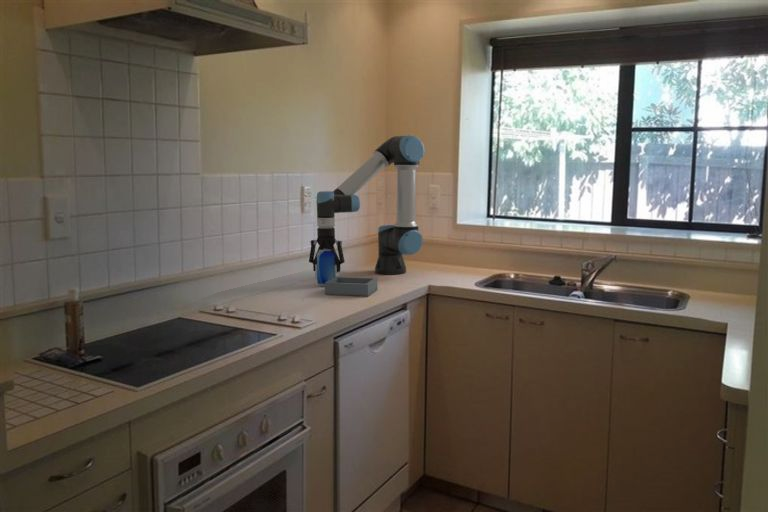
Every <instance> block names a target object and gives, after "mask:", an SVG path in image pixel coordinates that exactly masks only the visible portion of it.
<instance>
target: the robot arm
mask: <svg viewBox="0 0 768 512" xmlns="http://www.w3.org/2000/svg"><path fill="white" fill-rule="evenodd" d="M424 154H425V145H424V143H423V142H422V140H421V138H419V137H417V136H415V135H398V136H397V135H395V136H392V137H390V138H389V139H387V140H385V142H382V144H381V145H380V146H378V147H377V148H376V149H375V150H374V151H373V152H372V156H371V157H369V158H368V159H367V160H366V161H365V162H364V163H363V164H361V165H360V166H359V167H358V168H357V169H356V170H355V171H354V172H353V173H352V174H351V175H350V176H349V177H347V178H346V179H345V180H344V181H343V182H342V183H341V184H340V185H338V187H336V188H335V189H334V190H333V191H331V190H327V191H323V190H322V191H318V192H317V193H316V201H315V203H316V222H317V224H316V225H317V229H316V230H317V233H316V235H317V238H316V239H312V240H310V253H309V257H308V258H309V259H308V262H309V263H311V264H312V266H313V267H312V269H313V272H315V280H317V253H318V251H319V250H322V249H325V248H326V249H329V250H332V252H333V253H334V259H335V262H336V265H335V277H340V276H339V275H340V274H339V273H340V272H341V264H344V263H345V257H344V253H343V247H342V245H343V240H338V239H336V238H335V237H336V232H335V231H336V230H335V229H336V228H335V222H336V221H335V214H338V213H339V214H341V213H356V212H358V211H359V210H360V207H361V200H360V197H359V196H358V195H356V194H357V192H358V191H360V190H361V189H362V188H363V187H364V186H365V185H366V184H367V183H368V182H369V181H371V180H372V179H373V178H374V177H375V176H376V175H377V174H378V173H380V172H381V170H383V169H384V168H385V169H386V168H388V167H389V166H391V165H392V164H393V166H394V167H395V168H396V169H397V175H396V180H397V181H396V184H397V185H396V221H395V222H394V223H393V224H387V225H385V224H384V225H380V226H378V232H377V238H378V241H377V243H378V244H377V245H378V255H377V256H378V257H377V260H376V263H375V266H374V273H376V274H380V275H400V274H401V275H402V274H405V273H407V267H406V262H405V260H404V257H403V256H404V255H406V256H411V255H415V254H417V253H418V252H419V251H420V250H421V248H422V246H423V243H424V240H423V238H424V237H423V236H422V234H421V232H420V231H419V224H418V223H417V222H416V195H417V192H416V190H417V187H416V185H417V183H416V182H417V169H418V168H419V167H420V161H421V160H422V158H423V157H424V156H425V155H424ZM317 244H318V248H317V251H316V247H317ZM334 245H336V247H335V246H334ZM336 248H337V249H336ZM336 250H337V251H336ZM337 252H338V253H337Z"/></svg>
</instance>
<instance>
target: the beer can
mask: <svg viewBox="0 0 768 512" xmlns="http://www.w3.org/2000/svg"><path fill="white" fill-rule="evenodd" d="M317 251H318V250H317ZM316 253H317V252H316ZM335 265H336V262H335V259H334V253H333V252H332V250H329V249H326V248H325V249H322V250H319V251H318V253H317V279H316V281H317V284H318V286H320V287H322V288H325V282H327V281H329V280H331V279H333V278H334V277H335Z"/></svg>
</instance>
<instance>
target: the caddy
mask: <svg viewBox="0 0 768 512" xmlns="http://www.w3.org/2000/svg"><path fill="white" fill-rule="evenodd" d="M376 291H378V278H377V277H361V276H360V277H359V276H358V277H355V276H353V277H352V276H339V277H334V278H333V279H331V280H329V281H327V282H325V287H324V295H325V296H341V297H342V296H345V297H361V296H362V297H366V298H369V297H370V296H371V295H373V293H375V292H376ZM362 297H361V298H362Z"/></svg>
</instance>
